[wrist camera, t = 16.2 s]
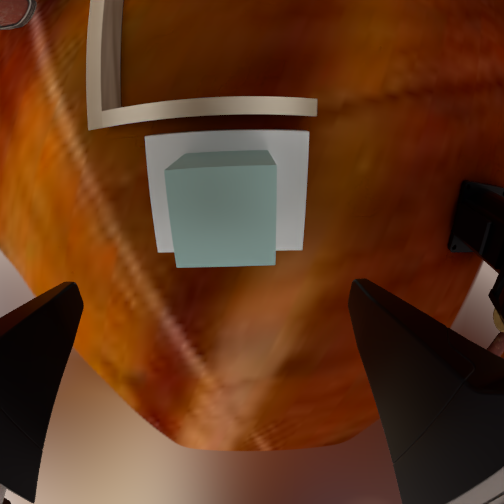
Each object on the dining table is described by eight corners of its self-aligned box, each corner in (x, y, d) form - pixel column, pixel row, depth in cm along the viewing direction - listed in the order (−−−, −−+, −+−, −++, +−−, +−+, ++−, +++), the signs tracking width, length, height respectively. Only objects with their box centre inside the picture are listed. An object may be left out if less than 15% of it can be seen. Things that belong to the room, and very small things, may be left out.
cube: (267, 150, 17) (276, 165, 12) (267, 226, 19) (275, 264, 15) (184, 153, 17) (164, 170, 12) (191, 228, 19) (176, 267, 15)
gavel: (474, 404, 33) (436, 414, 32) (465, 384, 37) (427, 392, 36) (551, 310, 22) (524, 310, 21) (534, 290, 26) (505, 287, 25)
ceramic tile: (305, 130, 17) (309, 131, 16) (299, 242, 21) (302, 250, 20) (150, 134, 17) (144, 136, 16) (162, 244, 21) (158, 252, 20)
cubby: (300, -66, 10) (308, -85, 7) (305, 115, 17) (316, 116, 14) (118, -50, 10) (103, -66, 7) (109, 126, 17) (88, 130, 14)
